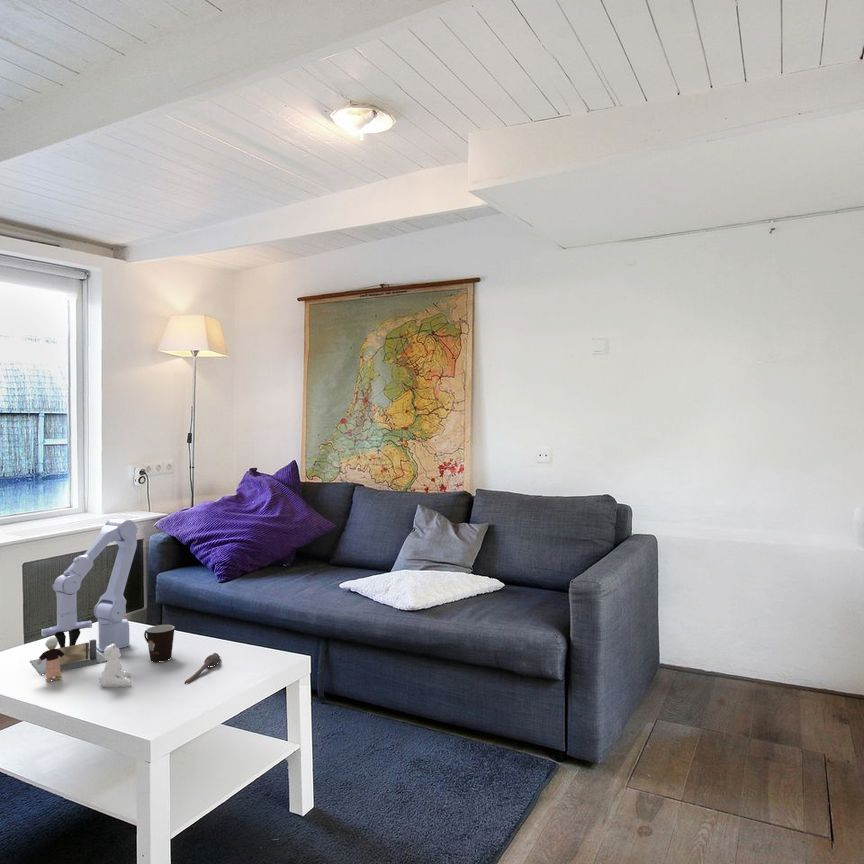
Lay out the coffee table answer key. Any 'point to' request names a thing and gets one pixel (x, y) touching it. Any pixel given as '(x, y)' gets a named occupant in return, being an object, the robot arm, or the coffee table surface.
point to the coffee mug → (160, 642)
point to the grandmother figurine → (52, 659)
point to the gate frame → (93, 659)
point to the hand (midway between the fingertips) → (67, 653)
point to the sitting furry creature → (114, 670)
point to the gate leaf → (75, 653)
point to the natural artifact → (205, 665)
